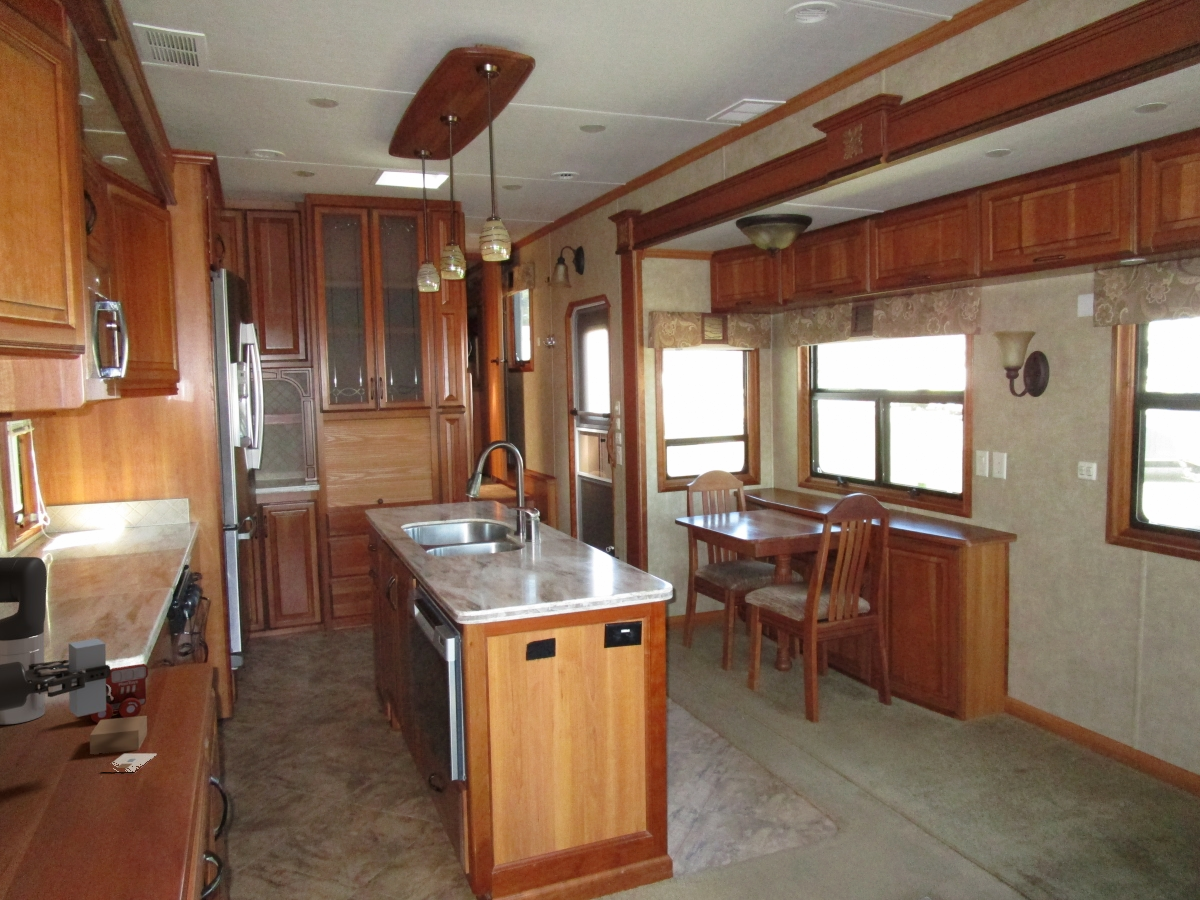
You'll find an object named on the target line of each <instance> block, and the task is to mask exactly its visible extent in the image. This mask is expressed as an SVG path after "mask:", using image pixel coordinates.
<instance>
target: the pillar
mask: <svg viewBox="0 0 1200 900" xmlns="http://www.w3.org/2000/svg"><path fill="white" fill-rule="evenodd" d="M106 655H107V653H106V643H105V642H104V641H102V640H101V639H100V638H91V639H85V640H80V641H74V642H73V641H72V642H69V643H68V660H69V669H70V670H80V669H88V668H93V667H99V666H104V665H107V664H106V661H107V660H106V659H107V658H106ZM73 681H77V678H76V679H73V680H72V682H73ZM106 685H107V684H106V678H105V679H100V680H95V681H90V682H86V684H85V687H84V688H81V689H77V690H74V691H70V692H68V693H69V694H68V695H69V699H68V700H69V701H68V702H69V705H68V706H69V711H70V712H71V713H72V714H73V715H74V716H75V717H77V718H78V717H82V716H83V715H87V716H89V715H88V714H92V713H97V712H101V711H105V710H106Z"/></svg>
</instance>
